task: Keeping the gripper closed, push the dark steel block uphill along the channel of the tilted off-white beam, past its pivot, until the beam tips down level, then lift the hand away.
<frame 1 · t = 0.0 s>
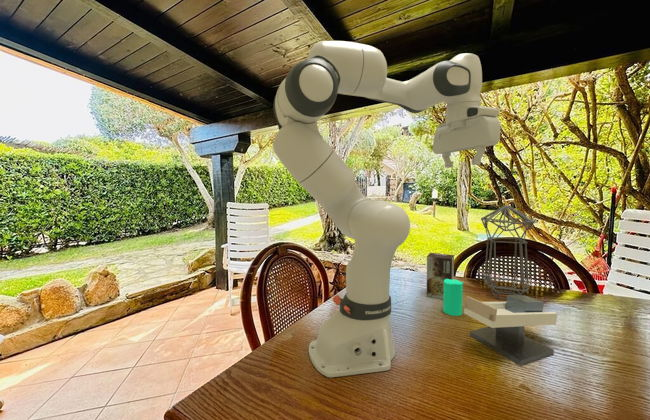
hand: (461, 166, 77), 48 cm above the table, tool pointing down, fingers open, 8 cm apart
pivot stand: (509, 344, 71), on the table
geometric lantern: (503, 295, 104), on the table
candle: (452, 312, 90), on the table
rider: (523, 313, 72), point 8 cm above the table, tilted 9°, touching beam
coffee box: (439, 296, 103), on the table
beam: (511, 310, 70), point 9 cm above the table, hinge at 8.9°, touching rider
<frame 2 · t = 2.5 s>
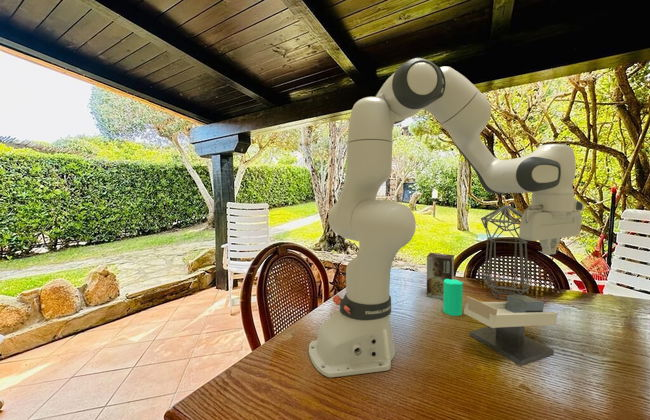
hand: (548, 254, 74), 23 cm above the table, tool pointing down, fingers closed
nothing on the table moved.
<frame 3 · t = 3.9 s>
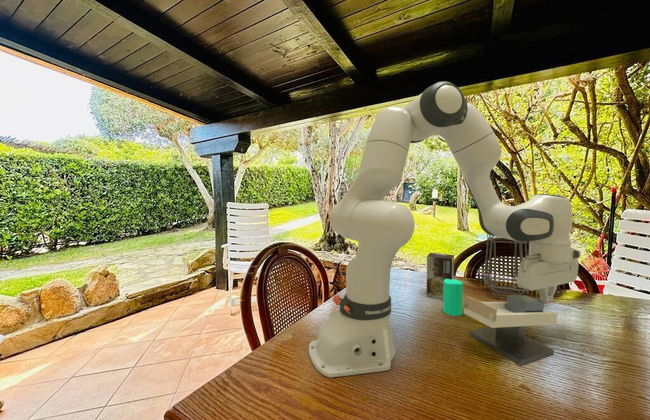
hand: (546, 300, 75), 10 cm above the table, tool pointing down, fingers closed
nothing on the table moved.
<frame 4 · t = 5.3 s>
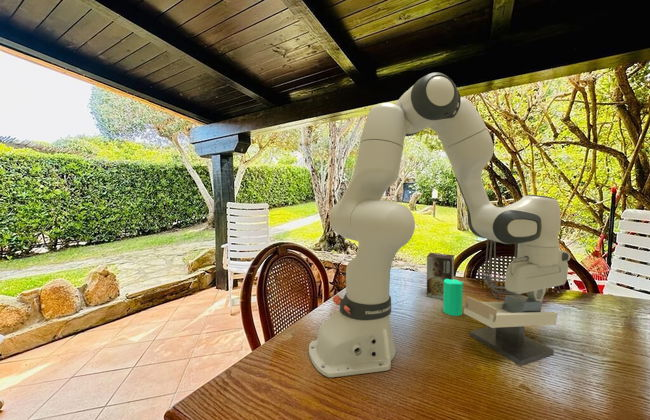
hand: (535, 303, 74), 10 cm above the table, tool pointing down, fingers closed
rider: (521, 313, 72), point 8 cm above the table, tilted 9°, touching beam, gripper
everything else where it was.
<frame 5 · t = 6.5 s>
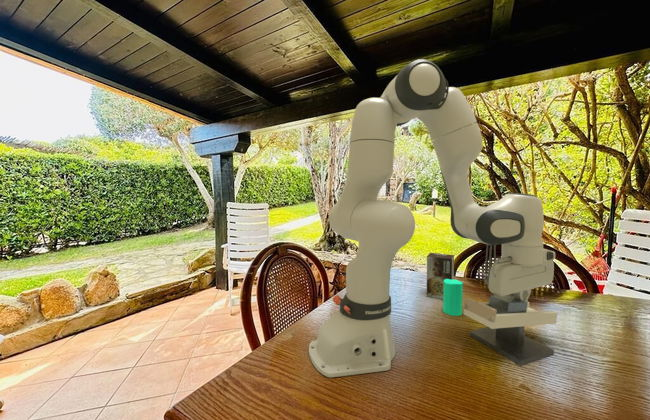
hand: (521, 305, 71), 10 cm above the table, tool pointing down, fingers closed
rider: (506, 313, 70), point 9 cm above the table, tilted 8°, touching beam, gripper
beam: (511, 310, 70), point 9 cm above the table, hinge at 7.8°, touching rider
everything else where it was.
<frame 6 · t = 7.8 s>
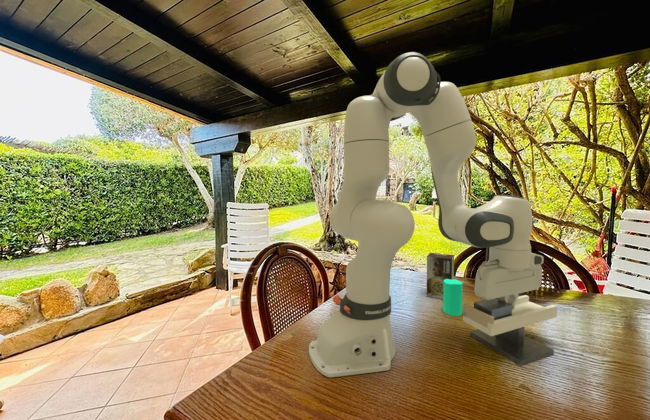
hand: (507, 309, 70), 10 cm above the table, tool pointing down, fingers closed
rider: (492, 318, 68), point 8 cm above the table, touching beam, gripper
beam: (510, 310, 70), point 9 cm above the table, hinge at -0.9°, touching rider
everything else where it was.
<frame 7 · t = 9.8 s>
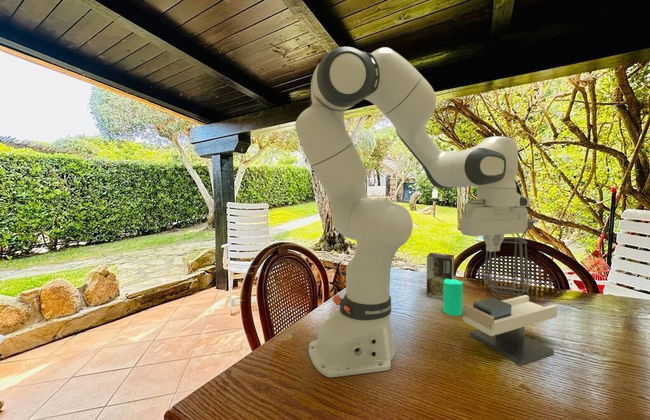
hand: (492, 251, 72), 25 cm above the table, tool pointing down, fingers closed
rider: (491, 318, 68), point 8 cm above the table, touching beam
everything else where it was.
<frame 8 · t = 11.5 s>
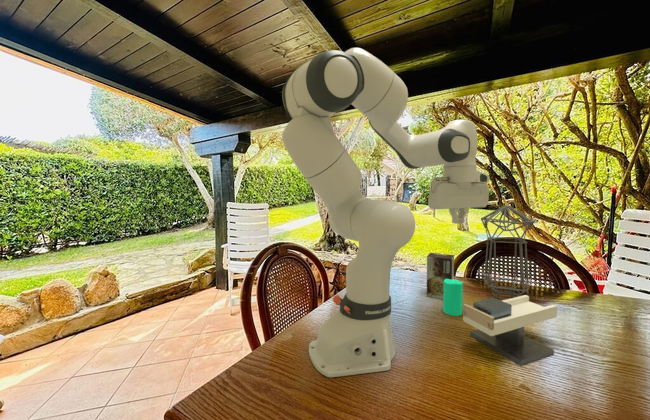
hand: (458, 223, 80), 31 cm above the table, tool pointing down, fingers closed
nothing on the table moved.
at the end: beam at -1° (first picture: +9°); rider inside the target area on the beam (0.7 cm from its centre), point 1.4 cm above the beam's base; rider tilted 1° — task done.
